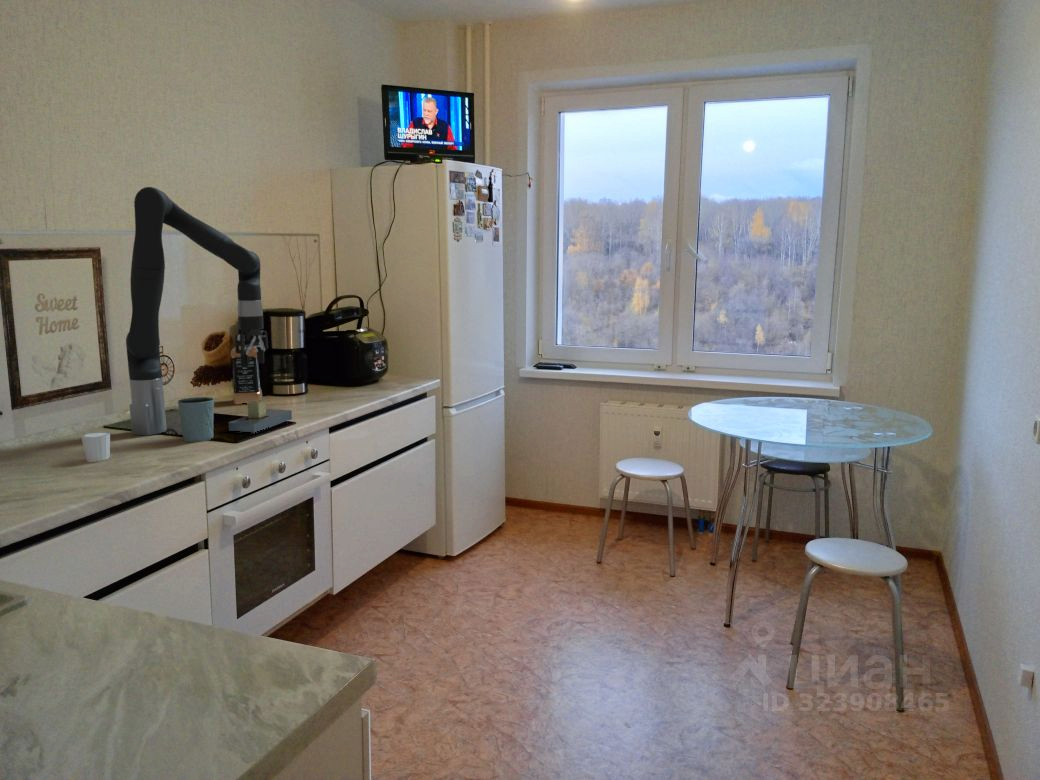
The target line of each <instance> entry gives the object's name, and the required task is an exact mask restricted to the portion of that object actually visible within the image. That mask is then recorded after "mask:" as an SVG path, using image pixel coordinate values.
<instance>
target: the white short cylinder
mask: <svg viewBox="0 0 1040 780" xmlns="http://www.w3.org/2000/svg"><path fill="white" fill-rule="evenodd" d="M81 442H82V445H83V451H84V455H85V460H87V461H86V462H88V461H92V462H91V463H95V462H94V461H99V462H102V461H101V460H105V459H108V458H109V457H111V455H110V453H111V433H110V432H108V431H107V432H106V431H98V432H97V431H96V432H89V433H85V434H82V435H81ZM109 459H110V458H109ZM109 459H108V460H109ZM105 461H106V460H105Z"/></svg>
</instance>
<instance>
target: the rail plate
mask: <svg viewBox="0 0 1040 780" xmlns="http://www.w3.org/2000/svg"><path fill="white" fill-rule="evenodd" d="M292 414H293V413H292V410H291V409H278V408H277V409H276V408H275V409H274V408H267V409H266V418H263V419H260V420H258V419H248V415H246V416H243V417H241V418H237V419H235V420H231V421H228V431H240V432H239V433H242V432H251V433H250V434H256V433H258V432H257V431H259V432H261V431H260V430H262V431H264V430H266V428H267V429H269V428H272V427H274V426H277V425H279V424H282V423H284V422H285V423H286V422H287V420H288V421H291V420H292V419H293V415H292ZM268 427H269V428H268ZM263 429H264V430H263ZM255 432H256V433H255Z"/></svg>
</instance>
